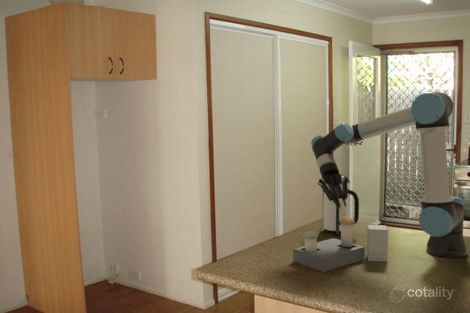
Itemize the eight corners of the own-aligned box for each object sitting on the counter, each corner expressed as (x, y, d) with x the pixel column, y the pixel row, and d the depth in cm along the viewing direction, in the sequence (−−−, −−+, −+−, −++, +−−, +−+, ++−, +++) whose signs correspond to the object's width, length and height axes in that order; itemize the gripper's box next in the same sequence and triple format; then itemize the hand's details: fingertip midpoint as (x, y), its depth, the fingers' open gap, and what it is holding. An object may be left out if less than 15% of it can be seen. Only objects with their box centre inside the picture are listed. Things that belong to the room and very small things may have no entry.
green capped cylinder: (321, 259, 183) (321, 233, 182) (310, 262, 180) (310, 235, 179) (310, 255, 188) (310, 230, 187) (300, 258, 184) (300, 232, 183)
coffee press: (320, 235, 221) (320, 171, 217) (319, 227, 236) (320, 167, 233) (358, 236, 218) (359, 172, 215) (355, 228, 233) (356, 167, 230)
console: (364, 259, 186) (364, 246, 186) (324, 272, 173) (324, 258, 172) (333, 249, 199) (333, 238, 199) (293, 261, 185) (293, 248, 185)
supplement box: (387, 262, 183) (388, 229, 181) (367, 261, 184) (368, 229, 183) (385, 256, 190) (386, 225, 189) (366, 255, 191) (366, 224, 190)
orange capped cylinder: (357, 245, 186) (357, 219, 185) (347, 248, 183) (348, 222, 182) (346, 242, 191) (346, 217, 190) (336, 244, 188) (336, 219, 187)
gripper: (339, 171, 206) (356, 218, 192) (311, 173, 204) (325, 220, 189) (344, 160, 201) (362, 207, 186) (315, 162, 198) (331, 209, 184)
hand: (344, 214), depth 188 cm, fingers closed
